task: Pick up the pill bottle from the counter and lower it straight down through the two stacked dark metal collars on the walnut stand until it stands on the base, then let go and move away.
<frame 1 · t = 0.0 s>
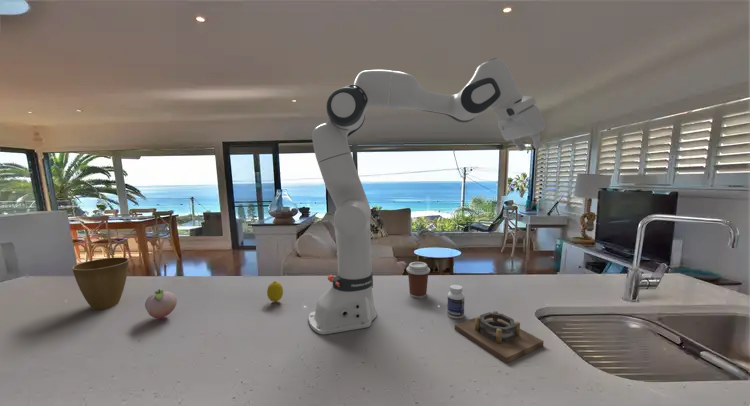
hand: (530, 148, 91), 54 cm above the worktop, tool tilted 30°, fingers open, 8 cm apart
pill bottle: (455, 315, 97), on the worktop
decorative fruit: (162, 318, 97), on the worktop
coffee cup: (418, 294, 113), on the worktop
plant pot: (106, 305, 107), on the worktop
collar stand: (496, 337, 84), on the worktop
lemon: (275, 302, 108), on the worktop
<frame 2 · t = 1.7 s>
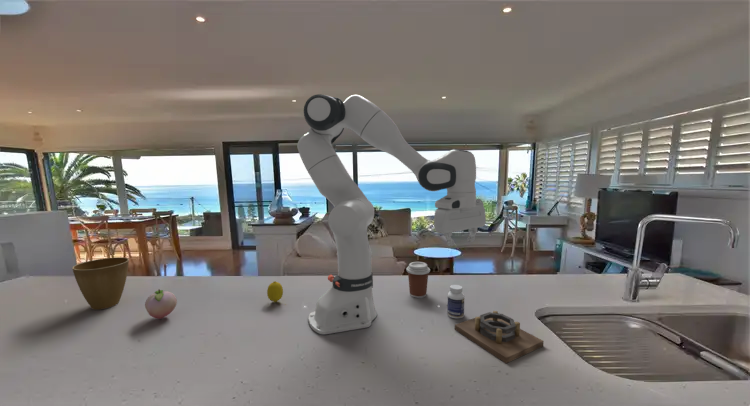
hand: (461, 243, 94), 24 cm above the worktop, tool pointing down, fingers open, 8 cm apart
nothing on the worktop moved.
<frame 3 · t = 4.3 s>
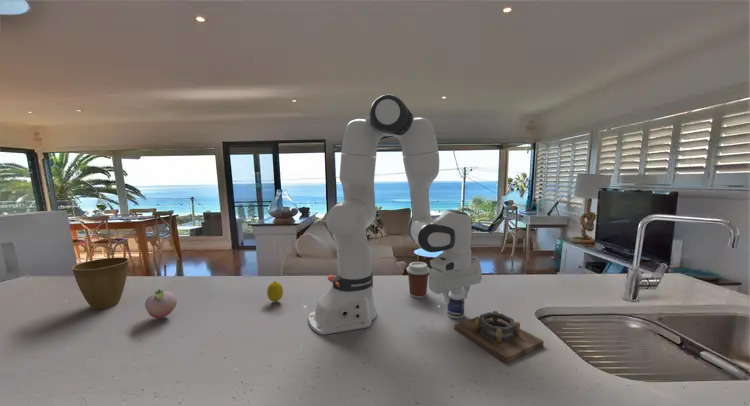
hand: (455, 300, 96), 5 cm above the worktop, tool pointing down, fingers closed on pill bottle, 5 cm apart
pill bottle: (455, 315, 97), on the worktop, touching gripper
everything else where it was.
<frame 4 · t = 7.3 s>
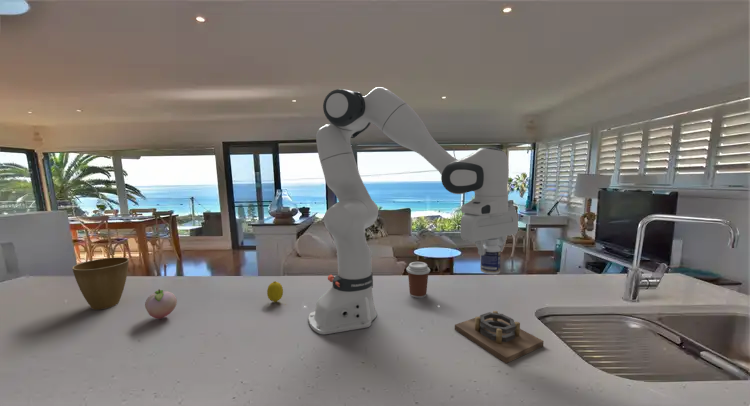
hand: (490, 252, 84), 24 cm above the worktop, tool pointing down, fingers closed on pill bottle, 5 cm apart
pill bottle: (490, 272, 85), point 18 cm above the worktop, touching gripper
everything else where it was.
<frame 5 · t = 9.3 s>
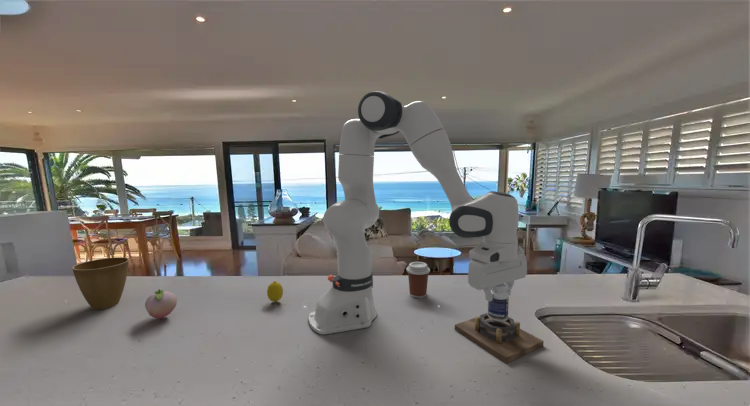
hand: (498, 297, 82), 12 cm above the worktop, tool pointing down, fingers closed on pill bottle, 5 cm apart
pill bottle: (497, 318, 83), point 6 cm above the worktop, touching gripper
everything else where it was.
when the fingers open (8 cm above the worktop, at t = 10.6 s): pill bottle stays where it is, resting on collar stand.
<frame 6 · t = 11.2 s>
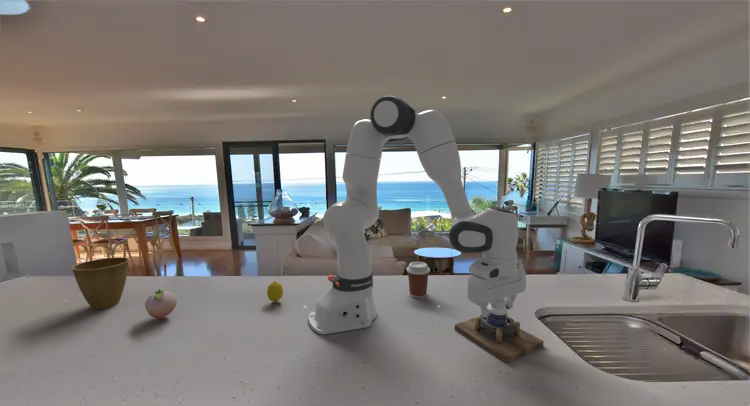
hand: (497, 312, 83), 8 cm above the worktop, tool pointing down, fingers open, 8 cm apart
pill bottle: (496, 332, 83), point 1 cm above the worktop, touching collar stand
everything else where it was.
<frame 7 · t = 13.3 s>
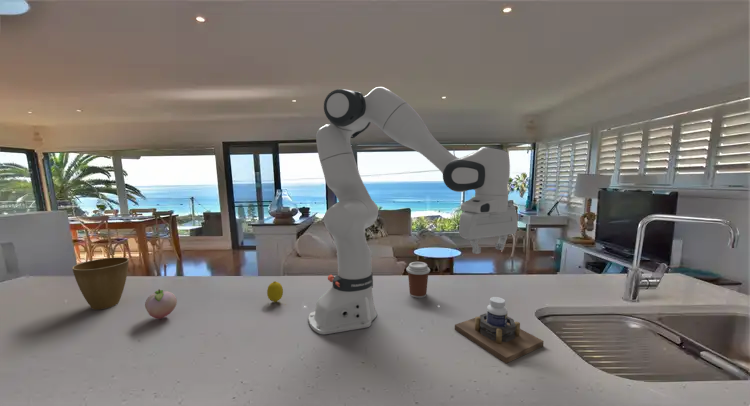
hand: (488, 251, 85), 24 cm above the worktop, tool pointing down, fingers open, 8 cm apart
nothing on the worktop moved.
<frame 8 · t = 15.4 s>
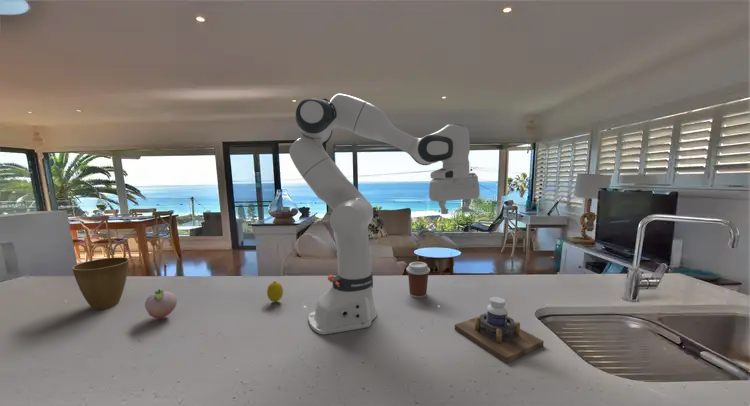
hand: (455, 212, 101), 33 cm above the worktop, tool pointing down, fingers open, 8 cm apart
nothing on the worktop moved.
at the end: pill bottle 0.1 cm off-centre on the collar stand, point 1.3 cm above the collar stand's base; pill bottle tilted 0°; the gripper is holding nothing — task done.
